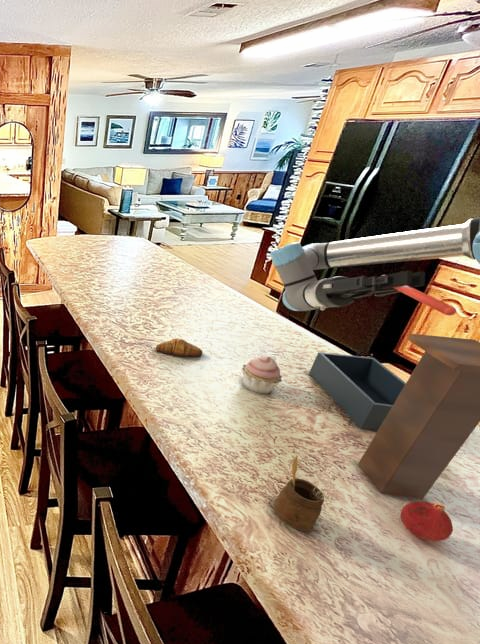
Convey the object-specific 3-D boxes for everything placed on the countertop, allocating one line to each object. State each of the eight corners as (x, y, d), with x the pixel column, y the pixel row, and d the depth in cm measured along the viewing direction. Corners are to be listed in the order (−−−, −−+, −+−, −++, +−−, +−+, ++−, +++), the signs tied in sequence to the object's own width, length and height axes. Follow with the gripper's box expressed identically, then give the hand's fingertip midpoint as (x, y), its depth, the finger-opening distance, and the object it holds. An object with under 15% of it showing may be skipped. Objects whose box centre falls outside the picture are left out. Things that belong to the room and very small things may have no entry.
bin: (308, 374, 110) (318, 352, 106) (361, 380, 108) (373, 357, 104) (359, 429, 90) (374, 404, 86) (426, 438, 88) (444, 412, 84)
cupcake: (230, 385, 104) (241, 354, 100) (244, 373, 110) (255, 343, 105) (269, 403, 98) (282, 370, 93) (281, 389, 103) (295, 357, 99)
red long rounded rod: (375, 280, 85) (379, 273, 84) (384, 281, 84) (387, 274, 84) (445, 316, 69) (450, 308, 68) (456, 317, 68) (460, 309, 68)
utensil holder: (304, 539, 65) (333, 490, 60) (264, 512, 70) (287, 464, 65) (317, 521, 69) (345, 473, 63) (278, 495, 73) (301, 449, 68)
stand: (341, 455, 83) (409, 333, 69) (394, 462, 81) (474, 339, 68) (372, 495, 74) (458, 363, 60) (433, 504, 72) (534, 371, 59)
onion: (403, 544, 65) (427, 513, 61) (385, 515, 70) (406, 484, 66) (447, 556, 63) (474, 524, 60) (425, 525, 68) (449, 494, 65)
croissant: (197, 350, 120) (201, 336, 118) (204, 362, 114) (208, 347, 112) (152, 345, 122) (156, 331, 120) (157, 357, 116) (160, 342, 114)
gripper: (362, 309, 98) (458, 300, 75) (299, 304, 100) (373, 293, 77) (363, 280, 98) (459, 262, 75) (300, 276, 101) (375, 256, 77)
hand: (415, 278), depth 76 cm, fingers closed on red long rounded rod, 1 cm apart
